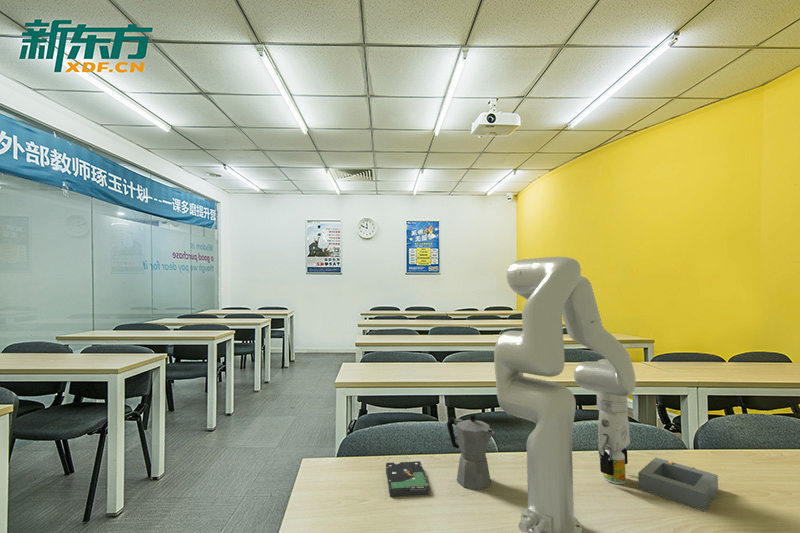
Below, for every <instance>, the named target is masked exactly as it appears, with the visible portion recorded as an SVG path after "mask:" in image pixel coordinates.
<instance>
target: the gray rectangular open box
mask: <svg viewBox="0 0 800 533" xmlns="http://www.w3.org/2000/svg"><path fill="white" fill-rule="evenodd" d="M637 474H638V475H637V476H638V489H640V490H643V491H645V492H649V493H651V494H654V495H657V496H660V497H663V498H666V499H668V500H672V501H675V502H678V503H681V504H683V505H686V506H689V507H692V508H694V509H697V510H700V511H703V512H706V511H707V509H708V508H709V507H710V505H711V503H712V502H713V500H714V498H715V497H716V495H717V494H718V492H719V479H718V478H719V476H718V474H715V473H711V472H707V471H704V470H702V469H698V468H695V467H691V466H687V465H683V464H681V463H676V462H674V460H666V459H663V458H660V457H656V456H655V457H654V458H653V459H652V460H650V462H649V463H647V465H645V466H644V467H643V468H642V469H641V470H639V472H638V473H637Z"/></svg>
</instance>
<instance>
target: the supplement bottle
mask: <svg viewBox="0 0 800 533" xmlns="http://www.w3.org/2000/svg"><path fill="white" fill-rule="evenodd" d="M606 447H610V446H606ZM610 448H611V447H610ZM605 451H607V453H608V455H609V451H608V450H605ZM621 451H622V450H621ZM621 451H620V452H618V453H617V452H615V451H614V452H613V456H612V460H613V465H614V475H613V476H611V475H608V474H605V473H602V476H603V479H604V480H605V481H607V482H609V483H611V484H615V485H624V484H625V483H626V480H627V479H626V464H625V455H624V454H623V453H622V452H621Z"/></svg>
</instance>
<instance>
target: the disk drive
mask: <svg viewBox="0 0 800 533" xmlns="http://www.w3.org/2000/svg"><path fill="white" fill-rule="evenodd" d="M385 474H386V479H387V485H388V493H389V497H390V498H399V497H414V496H415V497H416V496H417V497H419V496H430V487H429V481H428V480H427V477H426V476H427V475H426V473H425V471H424V468H423V465H422V462H421V461H420V460H419V461H417V460H416V461H415V460H414V461H400V462H399V463H395V462H385Z"/></svg>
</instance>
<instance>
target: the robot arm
mask: <svg viewBox="0 0 800 533" xmlns="http://www.w3.org/2000/svg"><path fill="white" fill-rule="evenodd" d="M581 270H582V268H581V265H580V262H579V261H577V259H575V258H572V257H568V256H548V257H538V258H537V257H535V258H523V259H518V260H515V261H513V262H511V263H510V264H509V266H508V268H507V271H506V280H507V283H508V286H509V287H510V288H511V291H513V292H515V294H517V295H518V296H520V297H522V298H524V299H525V300H526V301H525V302H524V303H525V304H524V305H523V309H522V312H521V322H522V324H521V325H522V331H521V330H507V331H504V332H503V333H501V334H500V335H499V337H498V338H497V340H496V342H495V346H494V349H493V352H494V354H493V357H494V358H493V360H494V374H495V385H496V397H497V401H498V404H499V407H500V408H501V410H502V411H503V412H505V413H506V414H508V415H511V416H513V417H516V418H520V419H523V420H527V421H529V422H533V423H534V424H535V427H534V429H533V430H532V431H531V433H530V434H529V435H528V437H527V440H526V466H527V467H526V468H527V469H526V471H527V472H526V473H527V476H526V477H527V478H526V479H527V480H526V481H527V507H526V508H525V509H523V511H522V512H521V514H520V522H519V523H518V528H519V531H520V532H522V533H526V532H527V533H583V526H582V523H581V522H580V521H579V519H578V518H576V517H575V514H574V513H575V511H574V509H575V508H574V504H575V503H574V476H573V475H574V474H573V472H574V471H573V445H572V444H573V429H574V428H573V427H574V421H575V416H576V415H575V413H576V409H577V404H576V403H577V401H576V398H575V394H574V393H573V391H572V390H570V389H569V388H568V387H567V386H565V385H563V384H561V383H558V382H554V381H550V380H545V379H541V378H535V377H530V376H525V375H524V374H529V375H534V376H539V377H540V376H541V377H546V378H547V377H548V378H552V377H557V376H559V375H560V374H562V373H563V371H564V367H565V344H564V328H563V322H564V325H565V329H566V332H567V336H568V337H569V338H571V340H573V342H574V341H575V342H576V343H578V344H579V345H581V346H584V347H585V348H587V349H589V350H591V351H593V352H596V353H597V354H600V356H602V357H603V358H602V359H598V360H597V361H596V360H595V361H589V360H588V361H582V362H580V363H579V364H578V365H577V366H575V369H574V371H573V378H574V381H575V383H576V384H577V385H578V387H580V388H582V389H585V390H588V391H592V392H595V393H596V409H597V411H598V426H597V427H598V430H597V432H598V433H597V434H598V445H597V449H598V454H599V467H600V469H599V470H600V472H601V473H602V474H603V473H605V474H608V475H611V476H613V475H614V465H613V460H612V456H613V452H614V451H615V452H617V453H618V452H620V451H621V450H622V451H621V452H622V453H623V454H624V455H625V465H627V464H628V462H629V461H628V446H629V445H630V444H631V435H630V423H629V416H628V413H629V409H628V407H629V406H628V403H629V402H628V397H629V396H631V395H632V394H633V393H634V392H635V389H636V382H637V380H636V375H635V369H634V366H633V362H632V358H631V355H630V353H629V351H628V350H627V349H626V348H625V346H624V345H623V344H622V343H621V342H620V341H619V340H618V339H617V338H616V337H615V336H614V335H612V333H610V332H609V331H608V330H606V328H604V326H603V323H602V320H601V315H600V311H599V308H598V304H597V300H596V297H595V292H594V290H593V285H592V283H591V282H590V280H589V279H588V278H587V277H585V276H584V275H581V274H582V273H581ZM606 446H610V447H611V448H610V447H606ZM605 450H608V451H609V455H608V453H607V451H605Z"/></svg>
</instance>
